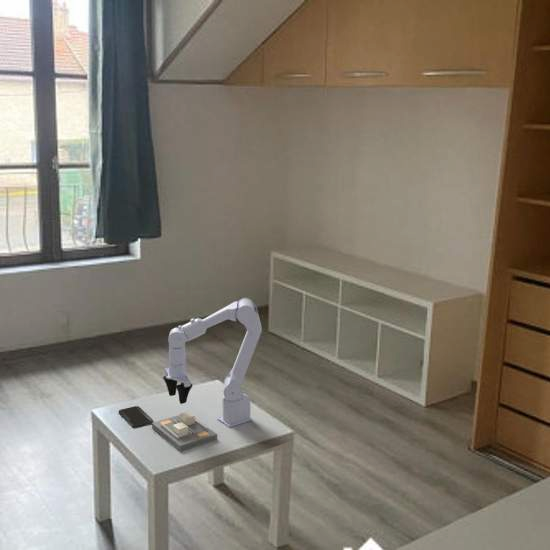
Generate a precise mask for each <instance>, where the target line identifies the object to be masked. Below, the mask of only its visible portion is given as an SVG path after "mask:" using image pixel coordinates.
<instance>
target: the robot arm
mask: <svg viewBox="0 0 550 550" xmlns="http://www.w3.org/2000/svg"><path fill="white" fill-rule="evenodd" d="M226 320H227V321H228V320H229V321H232V322H237V321H239V323H240V324H242V325H243V326H244V327H245V329H246V333H245V335H244V338H243V340H242V343H241V345H240V348H239V350H238V354H237V356H236V359H235V362H234V363H233V366H232V369H231V370H230V372H229V373H228V375H227V376H226V377H224V380H223V394H222V398H221V399H222V416H220V417H217V420H219V421H220V422H221V423H223V424H224V425H226V426H227V427H234V426H238V425H241V424H245V423H247V422H251V421H252V420H253V419H252V417H251V399H250V397H249V395H248V394H246V393H243V391H242V389H243V388H242V387H243V383H244V379H245V376H246V373H247V371H248V367H249V366H250V362H251V360H252V358H253V355H254V352H255V350H256V347H257V344H258V342H259V340H260V337H261V334H262V332H263V331H262V330H263V326H262V323H261V319H260V316H259V311H258V307H257V306H256V304H255V303H254V301H253V300H252V299H250V298H247V297H243V298H241V299H239V300H238V301H237V300H236V301H234V302H231V303H230V304H228V305H226V306H225V307H222V308H221V309H219V310H217V311H216V312H214V313H212V314H209V316H207V317H205V318H203V319H202V318H199V317H197V318H191V319H190V321H189V322H187V323H185V324H183V325H178V326H177V327H174V328H172V329H171V330H170V332H169V335H168V338H167V341H168V348H169V350H168V367H165V368H164V372H165V373H164V374H165V375H164V376H162V379H163V381H164V382H165V384H166V385H165V386H166V388H167V392H168V395H169V397H173V396H176V394H177V393H178V401H179V404H181V405H182V404H186V403H187V401H188V397H189V393H190V392H191V389H192V388H193V383H191V380H190V379H189V378H188V377H189V376H188V374H187V373H186V372H187V369H186V368H187V367H186V365H187V361H186V359H187V358H186V356H187V355H186V354H187V353H186V352H187V351H186V342H190V341H192V340H194V339H197V338H199V337H201V336H202V335H204V334H206V331H207V329H208V328H211V327H213V326H215V325H217V324H219V323H222V322H225V321H226ZM178 382H179V383H180V384H178Z"/></svg>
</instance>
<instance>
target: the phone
mask: <svg viewBox="0 0 550 550" xmlns="http://www.w3.org/2000/svg"><path fill="white" fill-rule="evenodd" d="M118 414H119V415H120V416H121V418H122V419H124V421H125V422H127V424H128V425H129V426H130V427H131V428H133V429H136V428H140V427H144V426H149V425H152V423H154V419H153V418H152V417H151V416H150V415H148V414H147V413H146V412H145V411H144V410H143V409H142V408H141V407H140V406H137V405H135V406H130V407H126V408H122V409H119V410H118Z"/></svg>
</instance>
